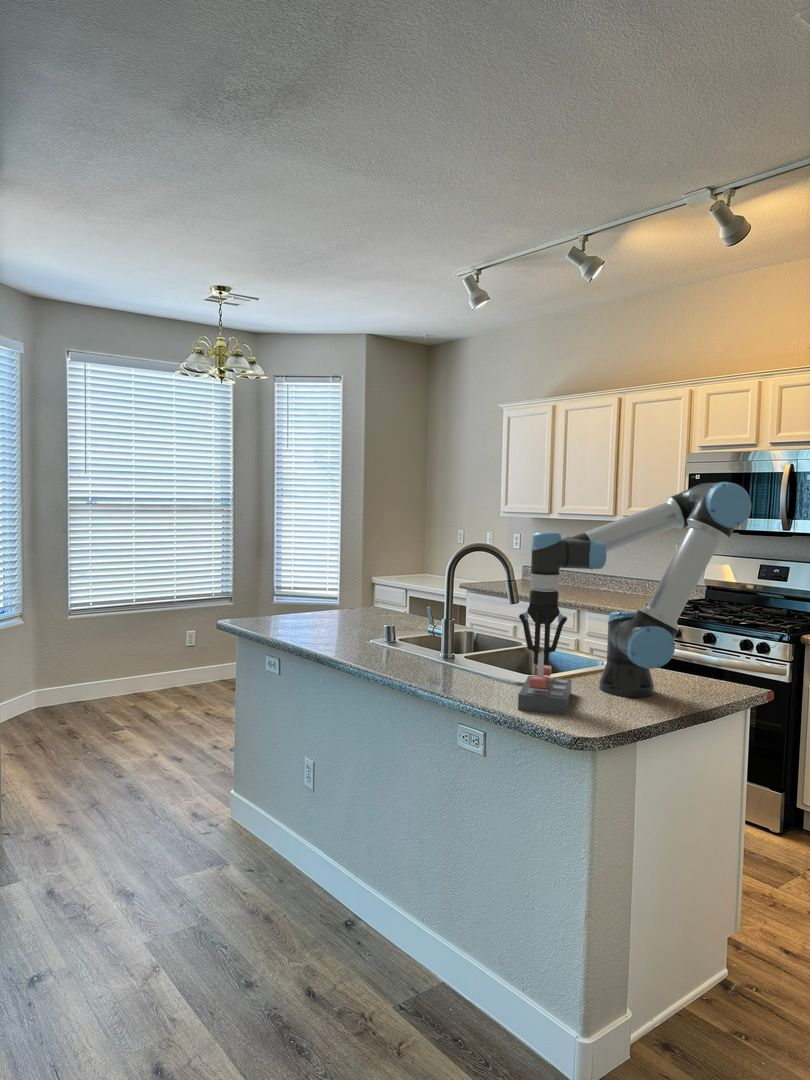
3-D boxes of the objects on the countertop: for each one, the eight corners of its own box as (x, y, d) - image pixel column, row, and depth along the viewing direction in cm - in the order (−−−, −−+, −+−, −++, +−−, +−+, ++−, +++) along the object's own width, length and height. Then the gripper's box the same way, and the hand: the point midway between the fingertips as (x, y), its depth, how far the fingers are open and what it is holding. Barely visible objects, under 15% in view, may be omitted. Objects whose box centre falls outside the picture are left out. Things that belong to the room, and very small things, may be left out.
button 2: (548, 683, 203) (549, 676, 203) (547, 687, 199) (547, 679, 199) (534, 682, 204) (534, 675, 204) (532, 686, 200) (532, 678, 200)
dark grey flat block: (571, 690, 213) (572, 676, 213) (565, 714, 189) (565, 698, 189) (529, 686, 216) (530, 672, 216) (517, 709, 192) (518, 693, 192)
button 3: (546, 684, 196) (546, 676, 196) (545, 688, 192) (545, 680, 192) (531, 683, 197) (531, 675, 197) (529, 686, 193) (529, 678, 193)
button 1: (551, 672, 209) (551, 665, 209) (550, 676, 206) (550, 668, 205) (537, 671, 210) (537, 664, 210) (535, 674, 207) (535, 667, 207)
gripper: (570, 589, 202) (566, 675, 203) (521, 586, 205) (518, 671, 207) (568, 592, 194) (564, 682, 196) (518, 589, 198) (514, 677, 199)
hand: (540, 676), depth 201 cm, fingers closed
